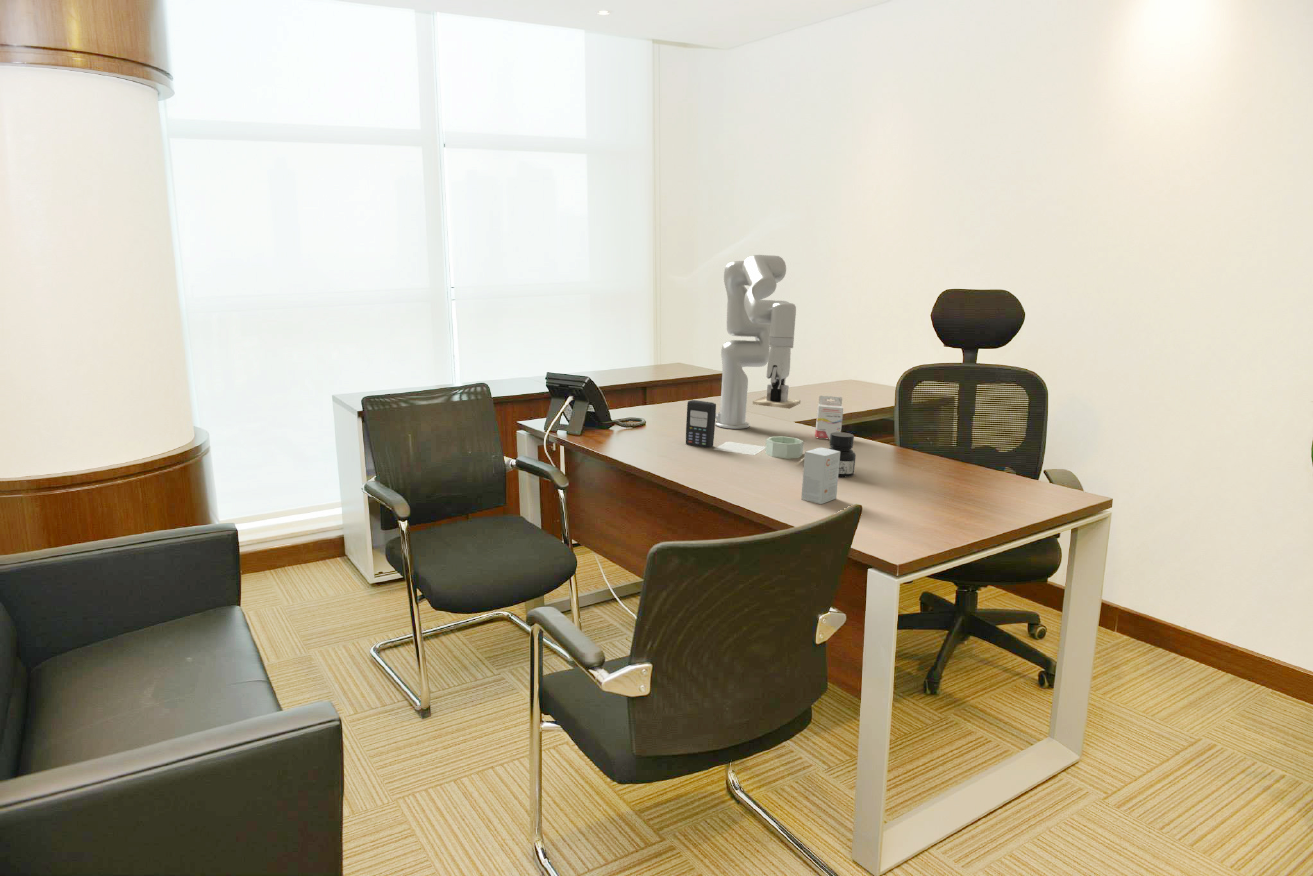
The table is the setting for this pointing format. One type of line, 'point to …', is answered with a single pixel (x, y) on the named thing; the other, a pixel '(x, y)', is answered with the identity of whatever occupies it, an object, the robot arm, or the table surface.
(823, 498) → the small box
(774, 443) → the bowl
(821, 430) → the ink cartridge box
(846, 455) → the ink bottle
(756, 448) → the mat
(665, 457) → the table surface
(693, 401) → the card reader
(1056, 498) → the table surface
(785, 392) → the lid
